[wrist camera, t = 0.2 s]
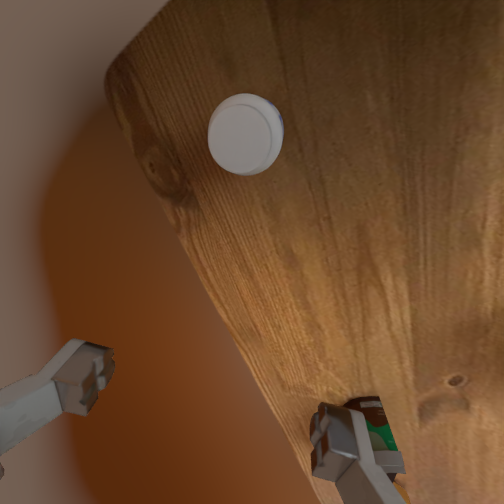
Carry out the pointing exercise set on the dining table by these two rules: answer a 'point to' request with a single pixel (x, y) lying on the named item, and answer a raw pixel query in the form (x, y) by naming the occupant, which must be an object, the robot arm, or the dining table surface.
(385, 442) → the food container
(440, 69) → the dining table surface
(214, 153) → the pill bottle
